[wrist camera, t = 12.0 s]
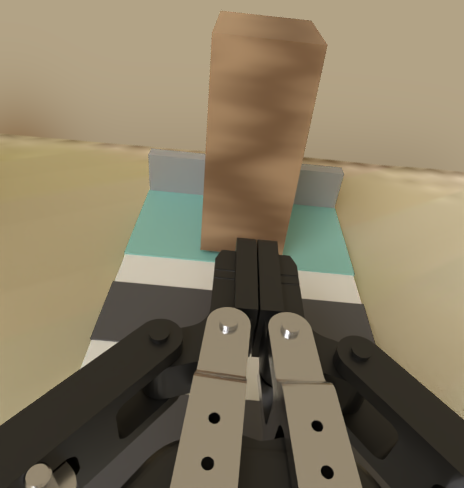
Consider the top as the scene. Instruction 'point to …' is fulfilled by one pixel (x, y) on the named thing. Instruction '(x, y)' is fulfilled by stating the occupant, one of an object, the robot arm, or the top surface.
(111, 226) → the top surface
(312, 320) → the track
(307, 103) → the slider block
